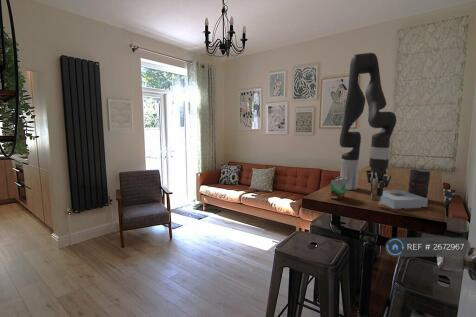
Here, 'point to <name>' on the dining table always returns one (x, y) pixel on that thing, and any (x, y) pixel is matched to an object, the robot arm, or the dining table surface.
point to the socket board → (402, 199)
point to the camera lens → (419, 182)
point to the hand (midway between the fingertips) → (376, 194)
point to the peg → (375, 191)
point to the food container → (338, 188)
